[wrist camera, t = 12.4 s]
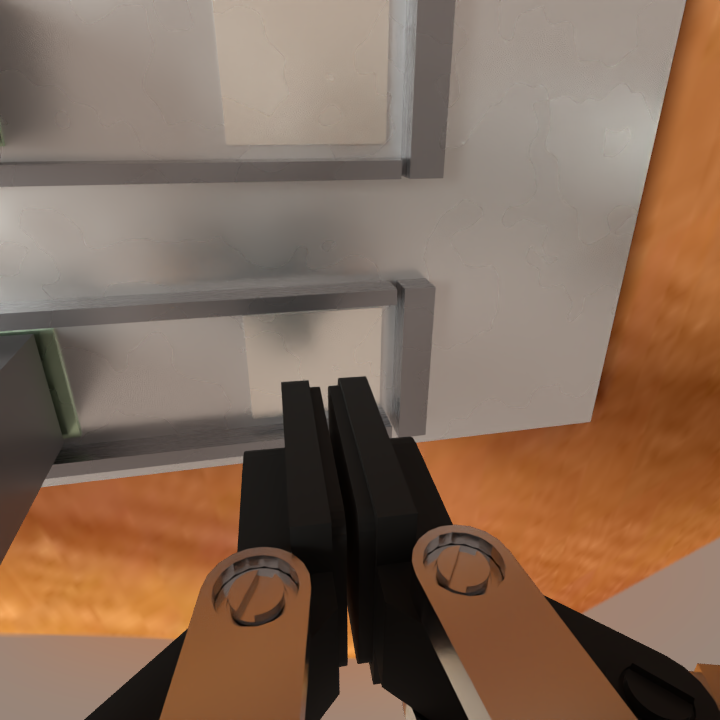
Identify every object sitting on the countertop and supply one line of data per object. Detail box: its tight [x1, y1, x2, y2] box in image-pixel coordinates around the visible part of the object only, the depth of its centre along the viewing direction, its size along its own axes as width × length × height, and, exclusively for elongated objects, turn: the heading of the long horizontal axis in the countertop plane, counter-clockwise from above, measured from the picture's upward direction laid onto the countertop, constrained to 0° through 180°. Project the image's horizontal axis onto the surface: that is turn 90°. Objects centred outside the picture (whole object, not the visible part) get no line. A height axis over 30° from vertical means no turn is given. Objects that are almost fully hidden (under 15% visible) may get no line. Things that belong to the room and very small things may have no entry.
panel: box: [0, 0, 686, 487], centre depth 13 cm, size 22×13×2 cm, turn 90°
